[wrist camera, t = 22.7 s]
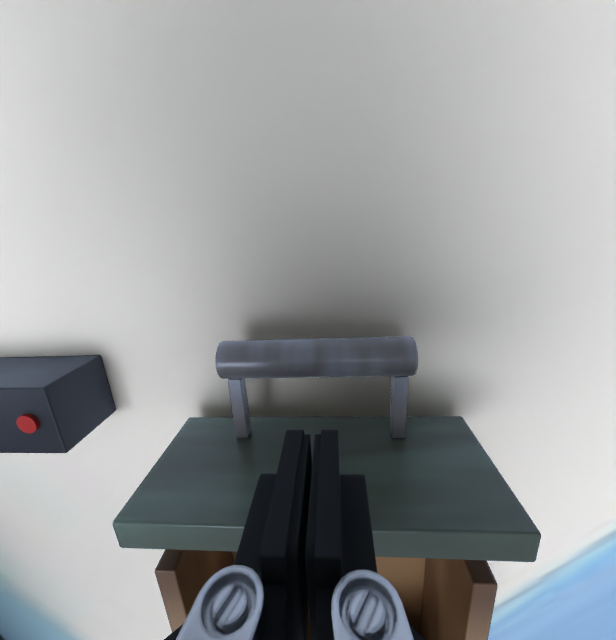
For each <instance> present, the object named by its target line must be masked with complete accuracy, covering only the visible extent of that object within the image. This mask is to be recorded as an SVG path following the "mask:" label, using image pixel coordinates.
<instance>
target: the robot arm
mask: <svg viewBox="0 0 616 640" xmlns="http://www.w3.org/2000/svg"><path fill="white" fill-rule="evenodd" d="M308 610H309V611H310V622H311V634H312V640H425V639H424V638H423V637H422V636H421V635H420V634H419V633H418V632H417V631H416V630H415V629H414V628H413V627H412V626H411V625H410V624H409V623H408V620H407V617H406V613H405V610H404V607H403V604H402V601H401V599H400V597H399V595H398V593H397V591H396V589H395V588H394V587H393V586H392V584H391V583H390V582H389V581H388V580H387V579H385V578H384V577H383V576H381V575H380V574H378V573H377V565H376V558H375V550H374V542H373V535H372V527H371V519H370V512H369V504H368V496H367V489H366V481H365V475H360V474H340V471H339V444H338V430H321V434H315V438H314V450H313V462H312V454H311V439H310V434H304V430H286V434H285V439H284V443H283V448H282V452H281V456H280V461H279V465H278V470H277V474H261V475H260V477H259V479H258V483H257V486H256V489H255V493H254V496H253V500H252V503H251V507H250V510H249V514H248V517H247V520H246V524H245V527H244V531H243V534H242V538H241V541H240V544H239V548H238V551H237V555H236V558H235V562H234V565H232V566H229V567H225V568H223V569H221V570H220V571H218V572H217V573H215V574H214V575H213V576H212V577H211V578H210V579H209V580H208V581H207V582H206V583H205V584H204V586H203V587H202V589H201V591H200V592H199V594H198V596H197V598H196V600H195V602H194V604H193V606H192V608H191V610H190V612H189V614H188V616H187V618H186V620H185V622H184V623H183V624H182V625H181V626H180V627H179V628H177V629H176V630H175V631H174V632H173V633H171V634H170V635H169V636H168V637H167V638H166V639H164V640H307V626H308Z"/></svg>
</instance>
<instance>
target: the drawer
mask: <svg viewBox="0 0 616 640" xmlns="http://www.w3.org/2000/svg"><path fill="white" fill-rule="evenodd" d="M417 367H418V353H417V346H416V343H415V340H414V338H413V337H411V336H397V337H360V338H322V339H284V340H247V341H223V342H221V343H220V344H219V346H218V348H217V352H216V369H217V373H218V375H219V377H220V378H222V379H228V386H229V392H230V399H231V406H232V412H233V417H194V418H189V419H188V420H187V421H186V423H185V424H184V426H183V427H182V428H181V430H180V431H179V432H178V434H177V435H176V436H175V438H174V439H173V441H172V442H171V443H170V445H169V446H168V447H167V449H166V450H165V451H164V453H163V454H162V456H161V457H160V458H159V460H158V461H157V462H156V464H155V465H154V466H153V468H152V469H151V471H150V472H149V473H148V475H147V476H146V477H145V479H144V480H143V481H142V483H141V484H140V486H139V487H138V488H137V490H136V491H135V492H134V494H133V495H132V496H131V498H130V499H129V500H128V502H127V503H126V505H125V506H124V507H123V509H122V510H121V511H120V513H119V514H118V515H117V517H116V518H115V520H114V521H113V527H114V530H115V533H116V536H117V539H118V542H119V545H120V547H122V548H144V549H165V551H164V553H163V555H162V557H161V559H160V561H159V563H158V565H157V567H156V569H155V574H156V577H157V581H158V584H159V588H160V591H161V595H162V598H163V602H164V605H165V609H166V612H167V616H168V619H169V623H170V626H171V630H172V633H173V632H174V631H175V630H176V629H177V628H179V627H180V626H181V625H182V624H183V623H184V622H185V620H186V618H187V616H188V614H189V612H190V610H191V608H192V606H193V604H194V602H195V600H196V598H197V596H198V594H199V592H200V591H201V589H202V587H203V586H204V584H205V583H206V582H207V581H208V580H209V579H210V578H211V577H212V576H213V575H214V574H215V573H217V572H218V571H220V570H221V569H223V568H225V567H229V566H232V565H234V562H235V558H236V555H237V551H238V548H239V544H240V541H241V538H242V534H243V531H244V527H245V524H246V520H247V517H248V514H249V510H250V507H251V503H252V500H253V496H254V493H255V489H256V486H257V483H258V479H259V477H260V475H261V474H277V470H278V465H279V461H280V456H281V452H282V448H283V443H284V439H285V434H286V430H304V434H310V439H311V454H312V462H313V450H314V438H315V434H321V430H338V444H339V471H340V474H360V475H365V481H366V489H367V496H368V504H369V512H370V519H371V527H372V535H373V542H374V550H375V558H376V565H377V573H378V574H380V575H381V576H383V577H384V578H385V579H387V580H388V581H389V582H390V583H391V584H392V586H393V587H394V588H395V589H396V591H397V593H398V595H399V597H400V599H401V601H402V604H403V607H404V610H405V613H406V617H407V620H408V623H409V624H410V625H411V626H412V627H413V628H414V629H415V630H416V631H417V632H418V633H419V634H420V635H421V636H422V637H423V638H424V639H425V640H488V635H489V629H490V624H491V618H492V613H493V608H494V602H495V597H496V591H497V582H496V580H495V578H494V576H493V574H492V572H491V569H490V567H489V565H488V563H487V561H486V560H489V561H518V562H534V561H535V560H536V556H537V552H538V547H539V543H540V539H541V534H540V532H539V530H538V529H537V527H536V526H535V524H534V523H533V521H532V520H531V518H530V517H529V515H528V514H527V512H526V511H525V509H524V508H523V506H522V505H521V503H520V502H519V501H518V499H517V498H516V496H515V495H514V493H513V492H512V490H511V489H510V487H509V486H508V484H507V483H506V481H505V480H504V478H503V477H502V475H501V474H500V472H499V471H498V469H497V468H496V467H495V465H494V464H493V462H492V461H491V459H490V458H489V456H488V455H487V453H486V452H485V450H484V449H483V447H482V446H481V444H480V443H479V441H478V440H477V438H476V437H475V435H474V434H473V433H472V431H471V430H470V428H469V427H468V425H467V424H466V422H465V421H464V419H463V418H462V417H460V416H428V417H407V400H408V379H409V378H408V376H413V375H415V374H416V372H417ZM365 376H391V408H390V417H250V416H249V408H248V400H247V393H246V385H245V378H301V377H365ZM307 640H312V634H311V622H310V611H309V610H308V626H307Z"/></svg>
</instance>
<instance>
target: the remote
mask: <svg viewBox="0 0 616 640" xmlns="http://www.w3.org/2000/svg"><path fill="white" fill-rule="evenodd" d="M115 410H116V409H115V406H114V402H113V399H112V395H111V392H110V388H109V385H108V381H107V378H106V374H105V370H104V367H103V363H102V360H101V356H59V357H18V358H0V453H67V452H68V451H69V450H71V449H72V448H73V447H74V446H75V445H76V444H77V443H79V442H80V441H81V440H82V439H83V438H84V437H86V436H87V435H88V434H89V433H90V432H91V431H92V430H94V429H95V428H96V427H97V426H98V425H99V424H101V423H102V422H103V421H104V420H105V419H106V418H108V417H109V416H110V415H111V414H112V413H113V412H114V411H115Z"/></svg>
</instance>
